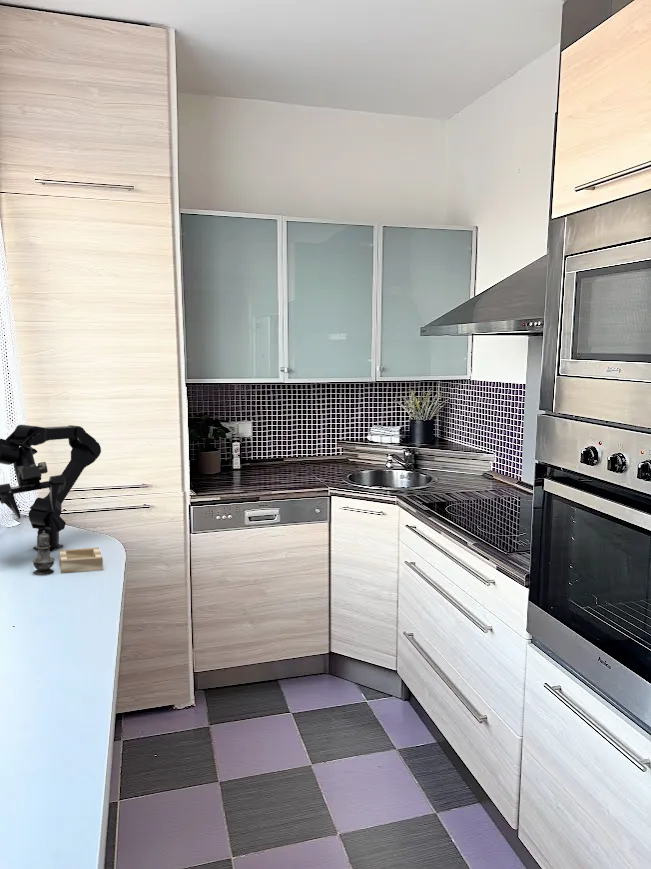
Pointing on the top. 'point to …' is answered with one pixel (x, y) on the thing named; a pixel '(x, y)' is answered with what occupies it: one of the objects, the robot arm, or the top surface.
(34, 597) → the top surface
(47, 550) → the weathered stone finial
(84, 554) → the shaker caddy
